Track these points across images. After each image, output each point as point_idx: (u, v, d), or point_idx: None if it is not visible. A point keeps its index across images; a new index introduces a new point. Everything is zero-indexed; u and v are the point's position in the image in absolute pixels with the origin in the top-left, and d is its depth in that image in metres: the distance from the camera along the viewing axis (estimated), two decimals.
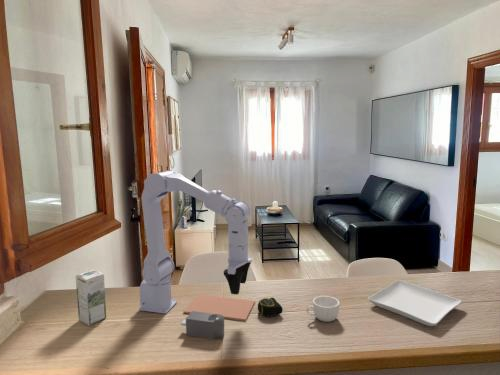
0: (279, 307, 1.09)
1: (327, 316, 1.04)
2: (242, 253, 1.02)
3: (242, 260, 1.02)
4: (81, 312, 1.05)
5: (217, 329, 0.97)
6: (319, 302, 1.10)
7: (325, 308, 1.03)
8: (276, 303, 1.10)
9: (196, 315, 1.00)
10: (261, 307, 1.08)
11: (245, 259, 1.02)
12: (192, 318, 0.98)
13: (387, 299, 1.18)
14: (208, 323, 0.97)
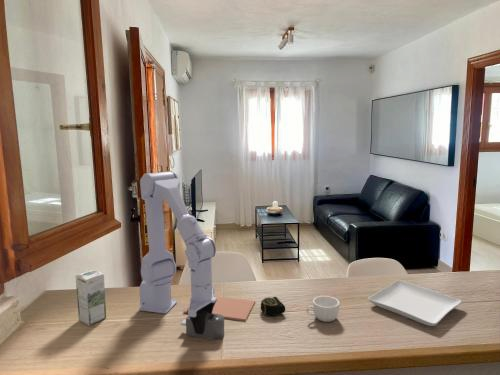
0: (282, 306, 1.09)
1: (327, 316, 1.04)
2: (205, 293, 0.96)
3: (205, 300, 0.96)
4: (81, 312, 1.05)
5: (217, 329, 0.97)
6: (319, 302, 1.10)
7: (325, 308, 1.03)
8: (279, 302, 1.11)
9: None
10: (264, 306, 1.09)
11: (208, 299, 0.97)
12: None
13: (387, 299, 1.18)
14: (208, 323, 0.97)
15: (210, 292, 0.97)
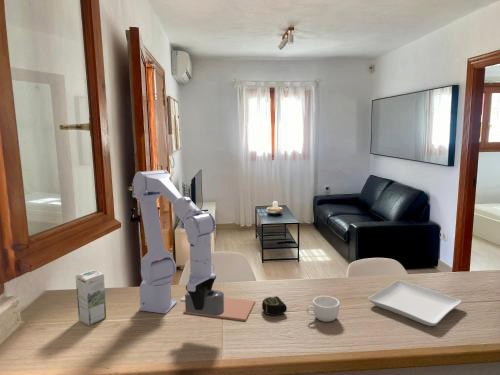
0: (283, 306, 1.09)
1: (327, 316, 1.04)
2: (204, 268, 0.95)
3: (204, 276, 0.95)
4: (81, 312, 1.05)
5: (216, 305, 0.95)
6: (319, 302, 1.10)
7: (325, 308, 1.03)
8: (280, 302, 1.11)
9: None
10: (265, 306, 1.09)
11: (208, 274, 0.95)
12: None
13: (387, 299, 1.18)
14: (207, 299, 0.96)
15: (209, 267, 0.96)
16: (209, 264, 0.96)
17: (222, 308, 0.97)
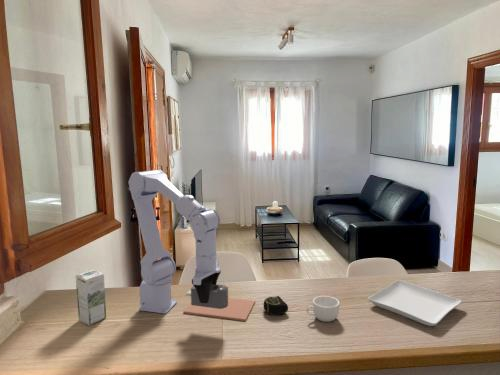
0: (285, 305, 1.10)
1: (327, 316, 1.04)
2: (210, 263, 0.98)
3: (209, 270, 0.99)
4: (81, 312, 1.05)
5: (221, 299, 0.99)
6: (319, 302, 1.10)
7: (325, 308, 1.03)
8: (282, 301, 1.11)
9: None
10: (267, 305, 1.10)
11: (213, 269, 0.99)
12: None
13: (387, 299, 1.18)
14: (212, 293, 0.99)
15: (214, 262, 1.00)
16: (214, 259, 0.99)
17: (226, 302, 1.01)
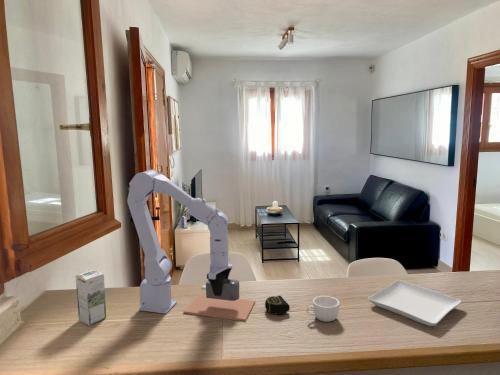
0: (286, 305, 1.10)
1: (327, 316, 1.04)
2: (223, 260, 1.09)
3: (222, 266, 1.10)
4: (81, 312, 1.05)
5: (233, 292, 1.10)
6: (319, 302, 1.10)
7: (325, 308, 1.03)
8: (283, 301, 1.11)
9: None
10: (268, 305, 1.10)
11: (225, 265, 1.10)
12: None
13: (387, 299, 1.18)
14: (225, 286, 1.10)
15: (227, 259, 1.11)
16: (227, 256, 1.10)
17: (238, 294, 1.12)
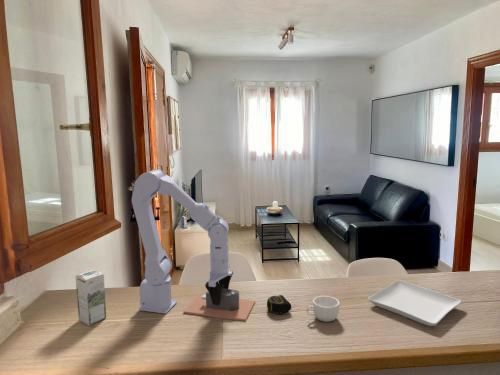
0: (288, 304, 1.10)
1: (327, 316, 1.04)
2: (223, 267, 1.10)
3: (223, 273, 1.10)
4: (81, 312, 1.05)
5: (233, 302, 1.11)
6: (319, 302, 1.10)
7: (325, 308, 1.03)
8: (285, 300, 1.12)
9: None
10: (270, 304, 1.10)
11: (225, 272, 1.11)
12: None
13: (387, 299, 1.18)
14: (225, 296, 1.11)
15: (227, 266, 1.11)
16: (227, 263, 1.11)
17: (238, 304, 1.12)
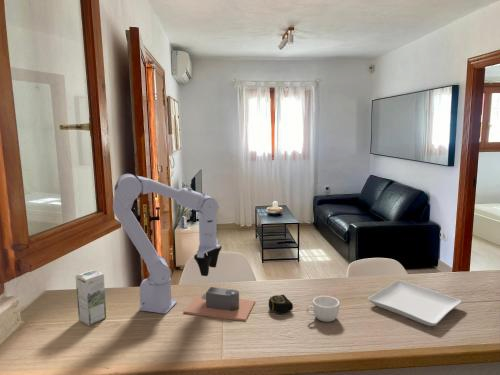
0: (290, 304, 1.11)
1: (327, 316, 1.04)
2: (211, 240, 1.16)
3: (211, 246, 1.16)
4: (81, 312, 1.05)
5: (233, 302, 1.11)
6: (319, 302, 1.10)
7: (325, 308, 1.03)
8: (286, 300, 1.12)
9: (214, 290, 1.14)
10: (272, 304, 1.11)
11: (213, 245, 1.17)
12: (211, 293, 1.12)
13: (387, 299, 1.18)
14: (225, 296, 1.11)
15: (215, 240, 1.17)
16: (215, 237, 1.17)
17: (238, 304, 1.12)
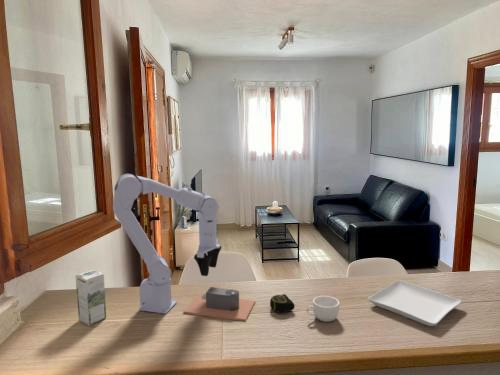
0: (291, 303, 1.11)
1: (327, 316, 1.04)
2: (211, 240, 1.16)
3: (211, 246, 1.16)
4: (81, 312, 1.05)
5: (233, 302, 1.11)
6: (319, 302, 1.10)
7: (325, 308, 1.03)
8: (288, 299, 1.12)
9: (214, 290, 1.14)
10: (273, 303, 1.11)
11: (213, 245, 1.17)
12: (211, 293, 1.12)
13: (387, 299, 1.18)
14: (225, 296, 1.11)
15: (215, 239, 1.17)
16: (215, 237, 1.17)
17: (238, 304, 1.12)
